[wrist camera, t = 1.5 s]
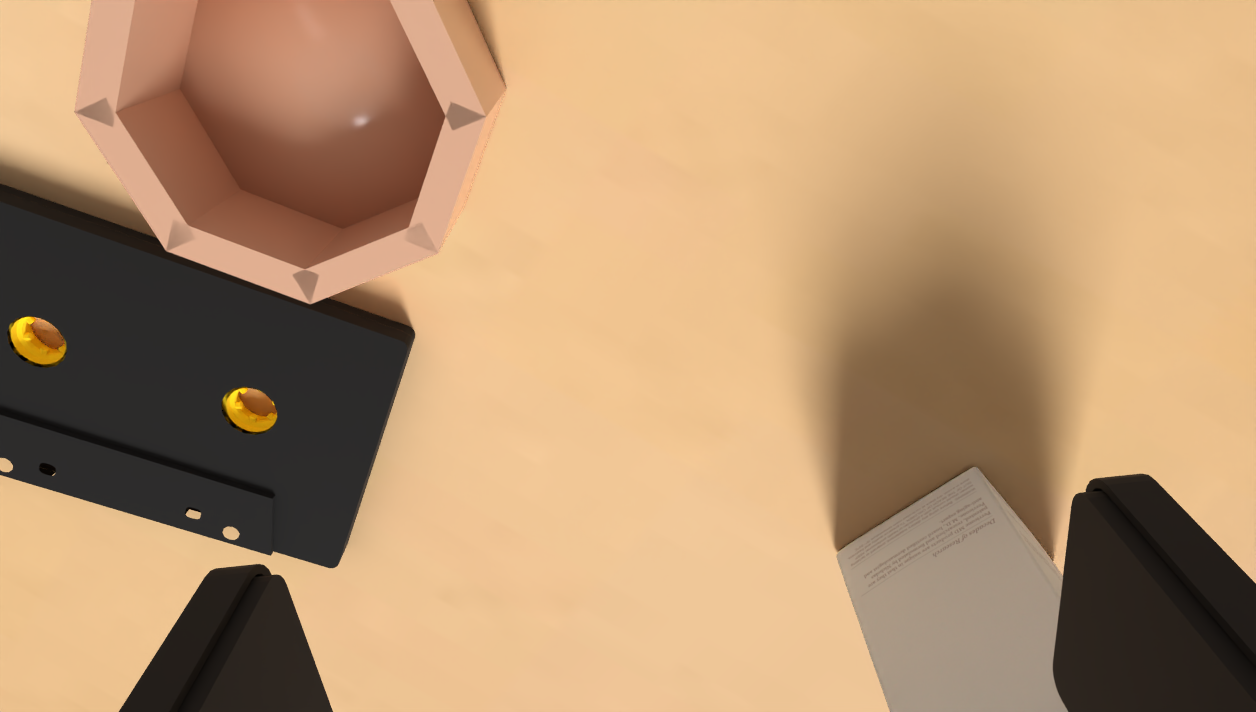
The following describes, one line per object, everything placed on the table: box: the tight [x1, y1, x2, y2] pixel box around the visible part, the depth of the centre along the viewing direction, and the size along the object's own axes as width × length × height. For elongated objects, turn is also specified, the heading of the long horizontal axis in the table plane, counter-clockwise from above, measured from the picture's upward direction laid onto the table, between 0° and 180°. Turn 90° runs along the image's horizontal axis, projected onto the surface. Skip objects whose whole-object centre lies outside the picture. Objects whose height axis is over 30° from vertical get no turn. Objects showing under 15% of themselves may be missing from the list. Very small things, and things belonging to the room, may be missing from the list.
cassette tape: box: [0, 184, 415, 568], centre depth 35 cm, size 18×12×2 cm, turn 68°
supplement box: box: [837, 467, 1068, 712], centre depth 34 cm, size 7×7×13 cm
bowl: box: [74, 0, 506, 304], centre depth 28 cm, size 11×11×5 cm
